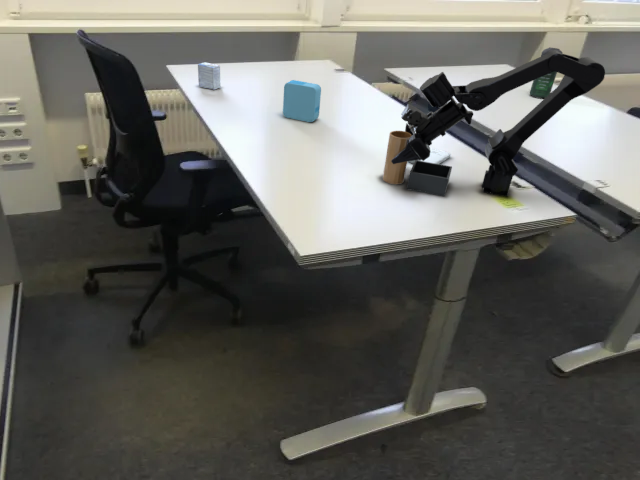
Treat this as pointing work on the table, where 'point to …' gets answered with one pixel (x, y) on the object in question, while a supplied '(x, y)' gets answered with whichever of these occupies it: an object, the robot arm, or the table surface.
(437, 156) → the hard drive
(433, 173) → the bin
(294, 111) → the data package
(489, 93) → the robot arm
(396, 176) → the cup
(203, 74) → the medicine box
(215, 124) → the table surface
